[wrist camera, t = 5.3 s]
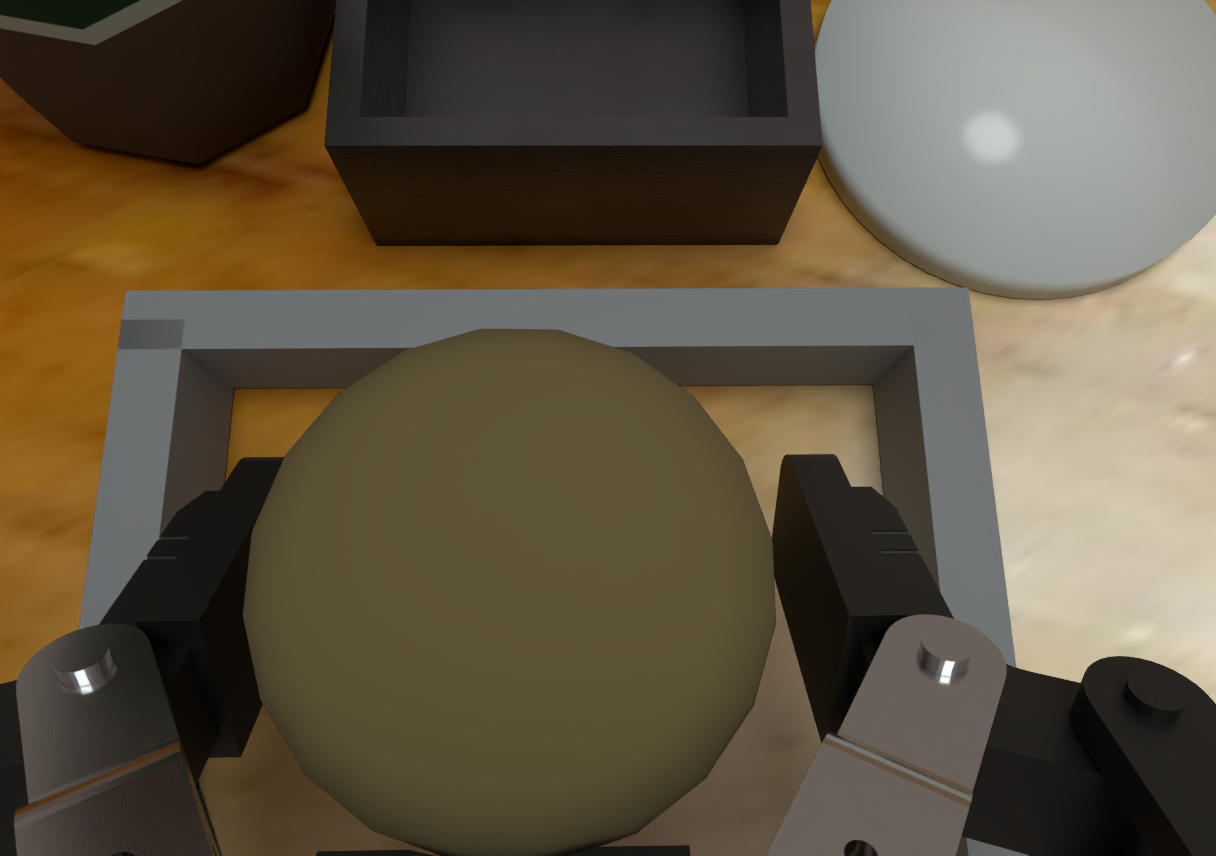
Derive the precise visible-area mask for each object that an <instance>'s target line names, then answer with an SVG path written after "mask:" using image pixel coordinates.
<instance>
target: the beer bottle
mask: <svg viewBox="0 0 1216 856" xmlns="http://www.w3.org/2000/svg"><path fill="white" fill-rule="evenodd" d="M335 9H336V0H0V77H1V78H2V79H3V80H4V81H5V82H6V83H7V84H8V85H9V86H10V87H11V88H12V89H13V90H14V91H15V92H16V93H17V94H18V95H19V96H20V97H21V98H22V99H24V100H25V101H26V102H27V103H28V104H29V105H31V106H32V107H33V108H34V109H35V110H36V111H38V112H39V113H40V114H41V115H42V116H43V117H45V118H46V119H47V120H48V121H49V122H50V123H52V124H53V125H54V126H55V127H56V128H57V129H59V130H60V131H61V132H62V133H63V134H64V135H66V136H67V137H68V138H69V139H70V140H71V141H75V142H79V143H83V144H88V145H93V146H99V147H104V148H110V149H115V150H121V151H126V152H132V153H137V154H143V155H149V156H154V157H160V158H165V159H171V160H176V161H182V162H187V163H193V164H198V165H201V164H203V163H205V162H207V161H209V160H211V159H212V158H214V157H216V156H218V155H220V154H221V153H223V152H225V151H227V150H229V149H231V148H232V147H234V146H236V145H238V144H240V143H242V142H243V141H245V140H247V139H249V138H251V137H252V136H254V135H256V134H258V133H260V132H262V131H263V130H265V129H267V128H269V127H271V126H272V125H274V124H276V123H278V122H280V121H282V120H283V119H285V118H287V117H289V116H291V115H293V114H294V113H296V112H298V111H300V110H302V109H303V108H305V105H306V102H307V98H308V95H309V92H310V89H311V86H312V83H313V80H314V77H315V73H316V70H317V67H318V64H319V61H320V58H321V55H322V52H323V48H324V45H325V42H326V39H327V36H328V33H329V30H330V27H331V23H332V20H333V17H334V14H335Z"/></svg>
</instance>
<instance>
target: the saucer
mask: <svg viewBox="0 0 1216 856" xmlns="http://www.w3.org/2000/svg"><path fill="white" fill-rule="evenodd" d="M814 49H815V61H816V73H817V84H818V96H819V108H820V120H821V132H822V144H823V146H822V148H821V150H820V152H819V155H818V158H819V160H820V162H821V165H822V167H823V169H824V171H825V173H826V175H827V178H828V179H829V181H830V183H831V184H832V186H833V187H834V189H835V190H836V192H837V194H838V195H839V197H840V198H841V200H842V201H843V203H844V204H845V205H846V206H847V207H848V209H849V210H850V211H851V212H852V213H853V215H854V216H855V217H856V218H857V220H858V221H859V222H860V223H861V224H862V225H863V226H864V227H865V228H866V229H867V230H869V231H870V232H871V233H872V234H873V235H874V236H875V237H876V238H877V239H878V240H879V241H880V242H882V243H883V244H884V245H886V246H887V247H888V248H890V249H891V250H892V251H894V252H895V253H896V254H898V255H899V256H900V257H902V258H903V259H905V260H907V261H908V262H910V263H912V264H914V265H915V266H917V267H919V268H921V269H922V270H924V271H926V272H927V273H930V274H932V275H934V276H937V277H939V278H941V279H944V280H946V281H948V282H950V283H953V284H955V285H958V286H962V287H968V289H972V290H975V291H978V292H982V293H987V294H992V295H998V296H1003V297H1009V298H1021V299H1039V300H1041V299H1056V298H1069V297H1074V296H1080V295H1085V294H1090V293H1095V292H1098V291H1101V290H1104V289H1107V288H1110V287H1113V286H1116V285H1119V284H1121V283H1123V282H1125V281H1127V280H1129V279H1131V278H1133V277H1135V276H1137V275H1139V274H1141V273H1143V272H1145V271H1146V270H1147V269H1149V268H1150V267H1152V266H1153V265H1155V264H1156V263H1157V262H1159V261H1160V260H1162V259H1163V258H1165V257H1166V256H1167V255H1169V254H1170V253H1172V252H1173V251H1175V250H1176V249H1177V248H1179V247H1180V246H1182V245H1183V244H1184V243H1186V242H1187V241H1189V240H1190V239H1192V238H1193V237H1194V236H1195V235H1196V234H1197V233H1198V232H1199V231H1200V230H1201V229H1202V228H1203V227H1204V226H1205V225H1206V224H1207V223H1208V222H1209V221H1211V220H1212V218H1213V217H1214V216H1215V214H1216V15H1215V14H1214V12H1213V11H1212V9H1211V8H1210V7H1209V6H1208V4H1207V3H1206V2H1205V1H1204V0H832V1H831V3H830V5H829V7H828V9H827V11H826V14H825V17H824V20H823V22H822V25H821V28H820V31H819V33H818V36H817V39H816V42H815V45H814Z"/></svg>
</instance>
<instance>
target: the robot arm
mask: <svg viewBox="0 0 1216 856" xmlns="http://www.w3.org/2000/svg"><path fill="white" fill-rule="evenodd" d="M283 460H284V457H245V458H242V459H241V460H240V461H239V462H238V463H237V465H236V466H235V468H234V469H233V471H232V473H231V474H230V476H229V477H228V479H227V480H226V482H225V483H224V485H223V487H222V488H221V490H220V491H205V492H203V493H202V494H201V495H199V496H198V497H196V498H195V499H194V500H192V501H191V502H190V503H188V504H187V505H185V506H184V507H183V508H181V509H180V510H179V511H177V512H176V514H175V515H174V517H173V518H172V520H171V521H170V522H169V524H168V525H167V527H166V528H165V530H164V531H163V532H162V534H161V535H160V536H161V539H160V540H157V541H156V543H155V544H154V545H153V547H152V548H151V550H150V551H149V553H148V554H147V560H143V561H142V563H141V564H140V566H139V567H138V569H137V570H136V571H135V573H134V574H133V576H132V577H131V579H130V580H129V581H128V583H127V584H126V586H125V587H124V589H123V590H122V592H121V593H120V594H119V596H118V597H117V599H116V600H115V602H114V603H113V605H112V606H111V607H110V609H109V610H108V612H107V613H106V615H105V616H104V617H103V619H102V620H101V622H100V623H99V625H95V626H90V627H86V628H83V629H79V630H76V631H74V632H71V633H69V634H66V635H64V636H62V637H60V638H58V639H56V640H55V641H53V642H52V643H50V644H48V645H47V646H45V647H44V648H43V649H41V650H40V651H39V652H37V653H36V654H35V655H34V656H33V657H32V658H31V659H30V660H29V661H28V662H27V664H26V665H25V666H24V667H23V669H22V671H21V672H20V674H19V676H18V679H17V680H15V681H11V682H7V683H3V684H0V856H223V855H222V852H221V849H220V845H219V842H218V839H217V836H216V833H215V829H214V826H213V823H212V820H211V817H210V813H209V810H208V807H207V804H206V801H205V797H204V794H203V791H202V788H201V785H200V783H199V780H198V779H199V777H200V775H201V772H202V770H203V768H204V766H205V764H206V761H207V759H208V758H213V757H241V755H242V753H243V751H244V748H245V746H246V743H247V741H248V739H249V736H250V734H251V731H252V729H253V726H254V724H255V722H256V719H257V717H258V714H259V712H260V710H261V707H262V705H263V703H262V701H261V700H260V695H259V690H258V686H257V681H256V676H255V671H254V666H253V662H252V657H251V652H250V647H249V643H248V638H247V633H246V628H245V624H244V619H243V609H244V600H245V591H246V582H247V572H248V563H249V554H250V545H251V536H252V530H253V528H254V526H255V523H256V521H257V519H258V516H259V514H260V512H261V510H262V507H263V505H264V503H265V501H266V498H267V496H268V494H269V491H270V489H271V487H272V485H273V482H274V480H275V478H276V475H277V473H278V471H279V469H280V466H281V464H282V462H283ZM772 541H773V564H774V578H775V582H776V585H777V589H778V592H779V596H780V599H781V603H782V606H783V610H784V613H785V617H786V620H787V624H788V627H789V631H790V634H791V638H792V642H793V645H794V649H795V652H796V656H797V659H798V663H799V666H800V670H801V673H802V677H803V680H804V684H805V687H806V691H807V694H808V698H809V701H810V705H811V708H812V712H813V715H814V719H815V722H816V726H817V729H818V733H819V736H820V740H821V745H820V747H819V749H818V751H817V753H816V755H815V757H814V759H813V762H812V764H811V766H810V768H809V770H808V772H807V774H806V776H805V778H804V780H803V782H802V784H801V786H800V788H799V790H798V792H797V794H796V796H795V798H794V800H793V802H792V804H791V806H790V808H789V810H788V812H787V814H786V816H785V818H784V820H783V822H782V824H781V826H780V828H779V830H778V832H777V834H776V836H775V839H774V841H773V843H772V845H771V847H770V849H769V851H768V853H767V855H766V856H956V852H957V849H958V845H959V842H960V839H961V836H962V837H965V838H969V839H972V840H976V841H980V842H983V843H987V844H990V845H994V846H998V847H1001V848H1005V849H1008V850H1012V851H1015V852H1019V853H1023V854H1026V855H1029V856H1216V704H1215V703H1214V701H1213V700H1212V699H1211V698H1210V697H1209V696H1208V695H1207V694H1206V693H1205V692H1204V691H1203V690H1202V689H1201V688H1200V687H1198V686H1197V685H1196V684H1195V683H1193V682H1192V681H1190V680H1189V679H1188V678H1186V677H1185V676H1183V675H1181V674H1179V673H1178V672H1176V671H1174V670H1172V669H1170V668H1167V667H1165V666H1163V665H1160V664H1157V663H1155V662H1152V661H1148V660H1144V659H1140V658H1134V657H1125V656H1115V657H1107V658H1103V659H1100V660H1098V661H1096V662H1094V663H1092V664H1091V665H1090V666H1089V667H1088V668H1087V670H1086V672H1085V673H1084V676H1083V679H1082V681H1081V683H1078V682H1074V681H1069V680H1065V679H1060V678H1056V677H1051V676H1047V675H1042V674H1038V673H1034V672H1029V671H1026V670H1022V669H1019V668H1016V667H1013V666H1010V665H1008V664H1006V662H1005V660H1004V657H1003V655H1002V653H1001V652H1000V650H999V649H998V647H997V646H996V645H995V644H994V643H993V642H992V641H991V640H990V639H989V638H988V637H987V636H986V635H984V634H983V633H981V632H980V631H978V630H977V629H975V628H973V627H971V626H970V625H968V624H966V623H963V622H961V621H958V620H955V619H954V617H953V615H952V613H951V612H950V610H949V608H948V606H947V604H946V602H945V600H944V598H943V596H942V594H941V592H940V591H939V589H938V587H937V585H936V583H935V581H934V579H933V577H932V575H931V573H930V572H929V570H928V568H927V566H926V564H925V562H924V560H923V558H922V556H921V554H918V549H917V547H916V545H915V543H914V541H913V539H912V537H911V535H908V530H907V528H906V526H905V524H904V522H903V520H902V518H901V516H900V514H899V512H898V511H897V509H896V507H895V506H894V505H893V504H891V503H890V502H889V501H888V500H887V499H885V498H884V497H883V496H882V495H880V494H879V493H878V492H877V491H876V490H874V489H873V488H872V487H851V486H850V483H849V481H848V479H847V477H846V475H845V473H844V470H843V468H842V466H841V464H840V462H839V460H838V458H837V456H836V455H834V454H813V455H785V456H784V458H783V460H782V464H781V469H780V477H779V485H778V493H777V502H776V510H775V518H774V526H773V534H772ZM316 856H432V855H428V854H424V853H420V852H416V851H412V850H373V851H317V854H316ZM566 856H690V849H689V845H682V846H620V847H596V848H592V849H588V850H584V851H581V852H577V853H573V854H569V855H566Z"/></svg>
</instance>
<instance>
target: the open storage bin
mask: <svg viewBox="0 0 1216 856" xmlns="http://www.w3.org/2000/svg"><path fill="white" fill-rule="evenodd" d="M822 146H823V144H822V132H821V120H820V108H819V96H818V84H817V73H816V61H815V49H814V37H813V25H812V13H811V1H810V0H336V9H335V21H334V34H333V46H332V59H331V71H330V84H329V96H328V108H327V121H326V133H325V147H326V149H327V151H328V153H329V155H330V157H331V159H332V161H333V163H334V165H335V167H336V168H337V170H338V172H339V174H340V176H341V178H342V180H343V182H344V184H345V186H346V188H347V189H348V191H349V193H350V195H351V197H352V199H353V201H354V203H355V205H356V207H357V209H358V210H359V212H360V214H361V216H362V218H363V220H364V222H365V224H366V226H367V228H368V230H369V232H370V233H371V235H372V237H373V239H374V241H375V243H376V245H621V244H778V243H779V241H780V239H781V237H782V234H783V232H784V230H785V228H786V226H787V223H788V221H789V219H790V217H791V214H792V212H793V210H794V208H795V206H796V203H797V201H798V199H799V197H800V194H801V192H802V190H803V188H804V186H805V183H806V181H807V179H808V177H809V174H810V172H811V170H812V168H813V166H814V163H815V161H816V159H817V157H818V155H819V152H820V150H821V148H822Z"/></svg>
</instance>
